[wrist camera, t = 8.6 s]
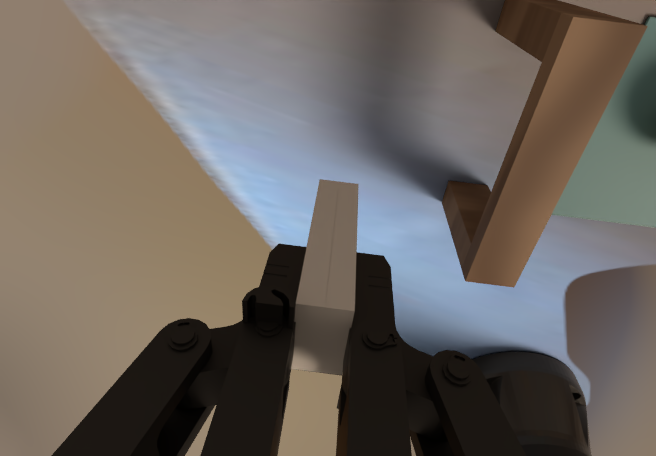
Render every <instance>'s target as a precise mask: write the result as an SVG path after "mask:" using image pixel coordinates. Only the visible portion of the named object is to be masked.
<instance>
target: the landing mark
mask: <svg viewBox="0 0 656 456" xmlns="http://www.w3.org/2000/svg"><path fill="white" fill-rule="evenodd" d="M644 25H646V26H648V27H647V29H646V31H645V33H644V35H643V37H642V39H641V41H640V43H639V45H638V46H637V48H636V50H635V52H634V54H633V56H632V58H631V60H630V62H629V64H628V66H627V68H626V70H625V72H624V74H623V76H622V78H621V80H620V82H619V84H618V85H617V87H616V89H615V91H614V93H613V95H612V97H611V99H610V101H609V103H608V105H607V107H606V109H605V111H604V113H603V115H602V117H601V119H600V121H599V123H598V125H597V126H596V128H595V130H594V132H593V134H592V136H591V138H590V140H589V142H588V144H587V146H586V148H585V150H584V152H583V154H582V156H581V158H580V160H579V162H578V164H577V166H576V167H575V169H574V171H573V173H572V175H571V177H570V179H569V181H568V183H567V185H566V187H565V189H564V191H563V193H562V195H561V197H560V199H559V201H558V203H557V205H556V206H555V208H554V210H553V212H552V214H551V215H558V216H566V217H574V218H582V219H590V220H598V221H606V222H614V223H622V224H630V225H638V226H646V227H654V228H656V17H648V18H647V20H646V22H645V24H644Z"/></svg>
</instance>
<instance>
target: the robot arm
mask: <svg viewBox="0 0 656 456" xmlns="http://www.w3.org/2000/svg"><path fill="white" fill-rule="evenodd" d="M357 214H358V184H353V183H345V182H337V181H329V180H321V179H320V181H319V186H318V191H317V197H316V202H315V207H314V212H313V217H312V222H311V227H310V233H309V238H308V243H307V247H301V246H293V245H285V244H278V245H277V246H276V247H275V248H274V249H273V250H272V251H271V252H270V254H269V257H268V260H267V264H266V267H265V270H264V274H263V276H262V279H261V283H260V286H259V287H258V288H255V289H253V290H251V291H250V292H248V293H247V294H246V296H245V297H244V299H243V301H242V306H243V320H242V321H240V322H239V323H236V324H234V325H231V326H227V327H221V328H214V329H209V328H208V327H207V325H206V324H205V323H203V322H201V321H200V320H196V319H190V318H187V319H180V320H177V321H174V322H172V323H170V324H168V325H167V326H165V327H164V328H163V329H162V330H161V331H160V332H159V333H158V334H157V335H156V336H155V338H154V339H153V340H152V341H151V342H150V343H149V345H148V346H147V347H146V348H145V349H144V350H143V351H142V352H141V354H140V355H139V356H138V357H137V358H136V359H135V360H134V362H133V363H132V364H131V365H130V366H129V367H128V368H127V370H126V371H125V372H124V373H123V374H122V375H121V377H120V378H119V379H118V380H117V381H116V382H115V384H114V385H113V386H112V387H111V388H110V389H109V390H108V391H107V393H106V394H105V395H104V396H103V397H102V398H101V400H100V401H99V402H98V403H97V404H96V405H95V406H94V408H93V409H92V410H91V411H90V412H89V413H88V414H87V416H86V417H85V418H84V419H83V420H82V422H80V424H79V425H78V426H77V427H76V428H75V429H74V431H73V432H72V433H71V434H70V435H69V436H68V437H67V439H66V440H65V441H64V442H63V443H62V444H61V446H60V447H59V448H58V449H57V450H56V451H55V452H54V453H53V455H52V456H185V454H186V453H187V451H188V449H189V448H190V446H191V444H192V443H193V441H194V439H195V438H196V436H197V434H198V433H199V431H200V429H201V428H202V426H203V424H204V422H205V421H206V419H207V418H208V416H209V415H210V413H211V411H212V410H213V408H214V406H215V405H217V406H216V409H215V412H214V415H213V418H212V421H211V425H210V428H209V431H208V434H207V437H206V440H205V443H204V446H203V450H202V453H201V456H277V454H278V448H279V443H280V436H281V431H282V425H283V419H284V413H285V407H286V401H287V396H288V390H289V378H290V372H291V369H296V370H304V371H311V372H320V373H328V374H335V375H342V385H341V390H340V395H339V400H338V405H337V408H338V409H339V414H338V431H337V448H336V456H412V455H411V444H410V437H411V440H412V444H413V447H414V450H415V453H416V456H592V455H591V450H590V440H589V430H588V421H587V411H586V402H585V397H584V394H583V391H582V389H581V387H580V385H579V383H578V381H577V379H576V377H575V375H574V373H573V372H572V371H571V370H570V369H569V368H568V367H567V366H566V365H565V364H563V363H562V362H560V361H558V360H556V359H554V358H551V357H548V356H545V355H541V354H536V353H529V352H502V353H495V354H490V355H485V356H481V357H478V358H475V359H470V358H469V357H468V356H467V355H465V354H462V353H460V352H457V351H450V350H445V351H441V352H438V353H437V354H436V355H435V356H431V355H428V354H426V353H423V352H421V351H418V350H416V349H415V348H413V347H411V346H409V345H408V344H407V343H406V342H404V341H403V339H402V338H401V337H400V336H399V334H398V332H397V330H396V326H395V317H394V304H393V291H392V281H391V267H390V265H389V264H388V262H387V260H386V259H385V257H384V256H381V255H373V254H365V253H357V252H356V249H357ZM342 372H343V373H342Z"/></svg>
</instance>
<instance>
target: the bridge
mask: <svg viewBox="0 0 656 456" xmlns="http://www.w3.org/2000/svg"><path fill="white" fill-rule="evenodd" d="M647 27H648V26H646V25H643V24H639V23H636V22H632V21H629V20H625V19H621V18H618V17H614V16H611V15H607V14H604V13H600V12H597V11H593V10H590V9H586V8H583V7H579V6H576V5H572V4H569V3H565V2H562V1H558V0H505V2H504V5H503V9H502V12H501V15H500V18H499V21H498V25H497V28H496V32H497V33H499V34H500V35H502V36H503V37H505V38H506V39H508V40H509V41H511V42H512V43H514V44H515V45H517V46H518V47H520V48H521V49H523V50H524V51H526V52H527V53H529V54H530V55H532V56H534V57H535V58H537V59H538V60H540V61H541V62H542V64H541V66H540V69H539V71H538V74H537V76H536V79H535V82H534V84H533V87H532V89H531V92H530V94H529V97H528V100H527V102H526V105H525V107H524V110H523V112H522V115H521V117H520V120H519V123H518V125H517V128H516V130H515V133H514V135H513V138H512V140H511V143H510V146H509V148H508V151H507V153H506V156H505V158H504V161H503V163H502V166H501V169H500V171H499V174H498V176H497V179H496V181H495V184H494V186H493V189H492V192H491V191H490V189H489V187H488V186H487V185H481V184H473V183H465V182H457V181H448V184H447V188H446V191H445V194H444V197H443V200H442V205H443V208H444V211H445V215H446V218H447V221H448V225H449V228H450V231H451V235H452V238H453V242H454V245H455V248H456V252H457V255H458V258H459V262H460V265H461V268H462V272H463V275H464V278H465V281H468V282H476V283H484V284H492V285H500V286H508V287H515V285H516V283H517V281H518V279H519V277H520V275H521V273H522V271H523V269H524V267H525V265H526V263H527V261H528V259H529V257H530V255H531V253H532V251H533V249H534V247H535V246H536V244H537V242H538V240H539V238H540V236H541V234H542V232H543V230H544V228H545V226H546V224H547V222H548V220H549V218H550V216H551V214H552V212H553V210H554V208H555V206H556V205H557V203H558V201H559V199H560V197H561V195H562V193H563V191H564V189H565V187H566V185H567V183H568V181H569V179H570V177H571V175H572V173H573V171H574V169H575V167H576V166H577V164H578V162H579V160H580V158H581V156H582V154H583V152H584V150H585V148H586V146H587V144H588V142H589V140H590V138H591V136H592V134H593V132H594V130H595V128H596V126H597V125H598V123H599V121H600V119H601V117H602V115H603V113H604V111H605V109H606V107H607V105H608V103H609V101H610V99H611V97H612V95H613V93H614V91H615V89H616V87H617V85H618V84H619V82H620V80H621V78H622V76H623V74H624V72H625V70H626V68H627V66H628V64H629V62H630V60H631V58H632V56H633V54H634V52H635V50H636V48H637V46H638V45H639V43H640V41H641V39H642V37H643V35H644V33H645V31H646V29H647Z"/></svg>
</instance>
